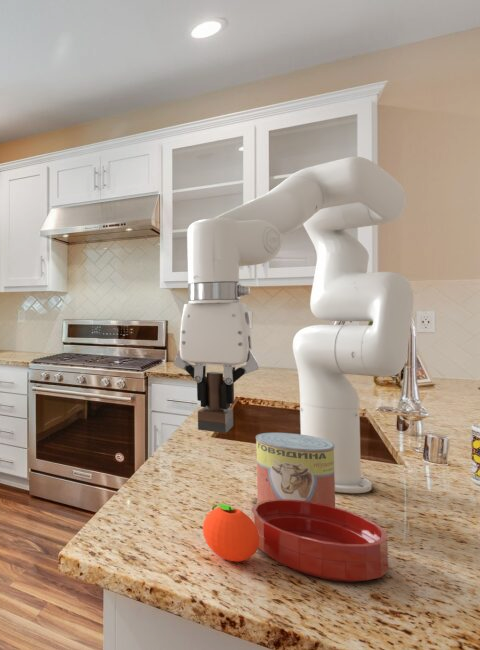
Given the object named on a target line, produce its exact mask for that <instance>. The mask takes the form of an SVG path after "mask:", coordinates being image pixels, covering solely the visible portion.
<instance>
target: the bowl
mask: <svg viewBox="0 0 480 650" xmlns="http://www.w3.org/2000/svg"><path fill="white" fill-rule="evenodd" d="M251 520H252V521H253V522H254V524H255V526H256V528H257V530H258V533H259V545H258V549H259V550H260V551H262V553H264V554H265V555H267V556H269V557H270V558H271V559H272V560H274V561H276V562H278V563H280V564H281V565H283V566H285V567H287V568H290V569H292V570H294V571H298V572H299V573H302V574H306V575H309V576H313V577H317V578H319V579H320V578H321V579H325V580H331V581H337V582H351V583H352V582H364V581H370V580H374V579H379V578H381V577H383V576H385V574H387V573H388V572H389V549H388V548H389V547H388V532H387V531H386V530H385V529H384V528H383V527H382V526H381V525H379V523H376V522H374V521H373V520H371V519H369V518H367V517H365V516H363V515H361V514H357V513H355V512H352V511H349V510H347V509H343V508H341V507H336V506H335V507H333V506H329V505H325V504H320V503H314V502H309V501H300V500H291V499H273V500H265V501H261V502H259V503H257V502H256V503H254V504H253V505H252V507H251Z"/></svg>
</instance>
